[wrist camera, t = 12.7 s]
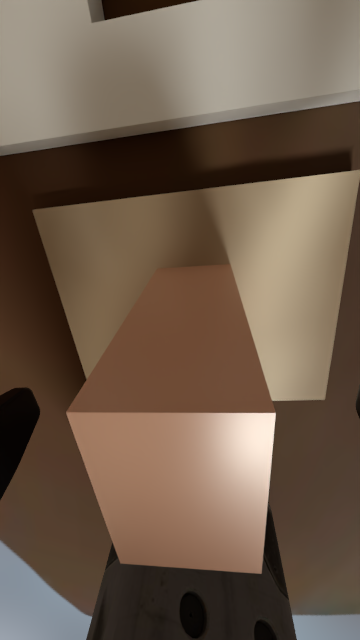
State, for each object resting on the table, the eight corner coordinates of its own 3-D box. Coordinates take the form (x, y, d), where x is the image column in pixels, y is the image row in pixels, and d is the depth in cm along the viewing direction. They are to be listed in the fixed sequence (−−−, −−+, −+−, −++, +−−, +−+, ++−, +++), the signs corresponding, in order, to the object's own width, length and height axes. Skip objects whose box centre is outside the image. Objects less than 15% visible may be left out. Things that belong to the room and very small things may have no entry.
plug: (230, 264, 11) (275, 413, 4) (231, 356, 13) (261, 573, 6) (157, 268, 11) (65, 412, 4) (168, 357, 13) (120, 563, 6)
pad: (352, 170, 10) (361, 169, 9) (319, 391, 14) (324, 399, 13) (40, 208, 11) (32, 209, 11) (98, 396, 15) (94, 403, 15)
